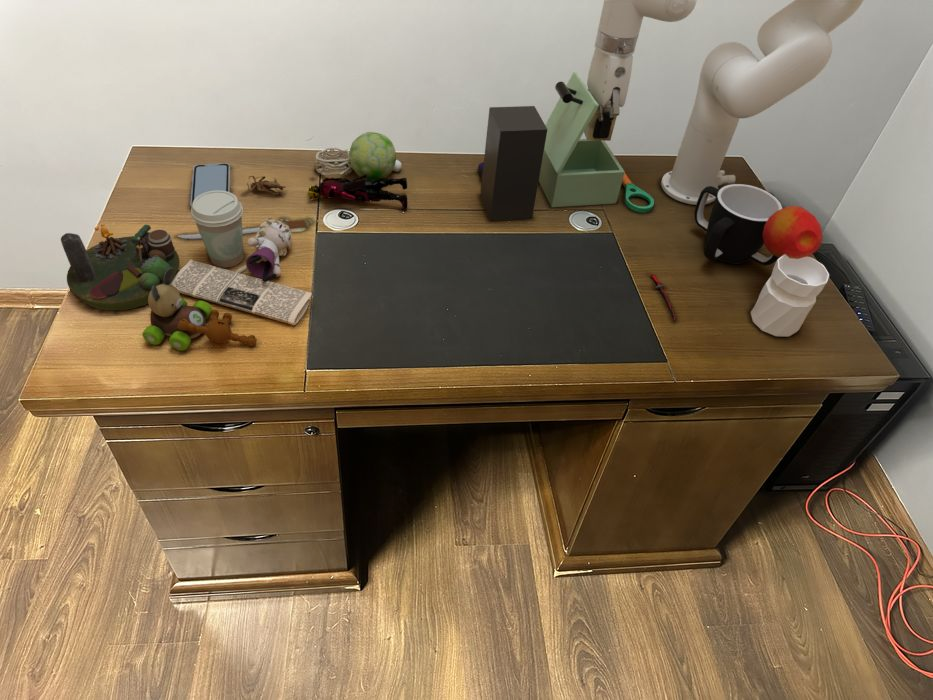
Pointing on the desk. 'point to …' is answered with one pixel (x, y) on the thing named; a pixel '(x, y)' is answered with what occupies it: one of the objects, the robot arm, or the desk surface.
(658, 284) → the katana
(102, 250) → the toy scene
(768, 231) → the apple
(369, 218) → the desk surface
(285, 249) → the toy
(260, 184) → the insect
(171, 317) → the toy car
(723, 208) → the mug
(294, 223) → the sword
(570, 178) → the storage box
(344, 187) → the action figure
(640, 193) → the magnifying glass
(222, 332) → the toy figurine
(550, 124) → the lid
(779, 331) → the vase
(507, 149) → the block
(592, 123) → the block
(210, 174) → the smartphone
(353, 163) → the decorative ball
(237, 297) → the newspaper
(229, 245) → the coffee cup
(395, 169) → the spheres
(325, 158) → the bracelet
